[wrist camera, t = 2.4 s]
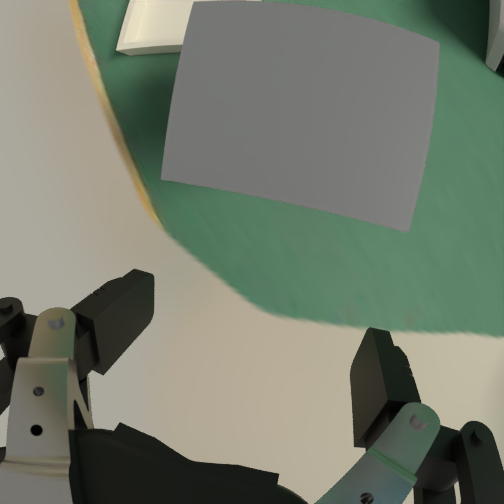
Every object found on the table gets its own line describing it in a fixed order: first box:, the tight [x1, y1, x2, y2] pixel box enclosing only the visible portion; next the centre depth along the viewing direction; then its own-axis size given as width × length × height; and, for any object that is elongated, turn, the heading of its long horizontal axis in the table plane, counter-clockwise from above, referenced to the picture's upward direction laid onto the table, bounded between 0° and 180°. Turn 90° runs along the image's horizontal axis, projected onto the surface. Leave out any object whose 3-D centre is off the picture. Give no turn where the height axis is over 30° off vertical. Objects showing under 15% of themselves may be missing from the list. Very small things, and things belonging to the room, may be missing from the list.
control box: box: [161, 0, 440, 233], centre depth 16 cm, size 9×10×14 cm
